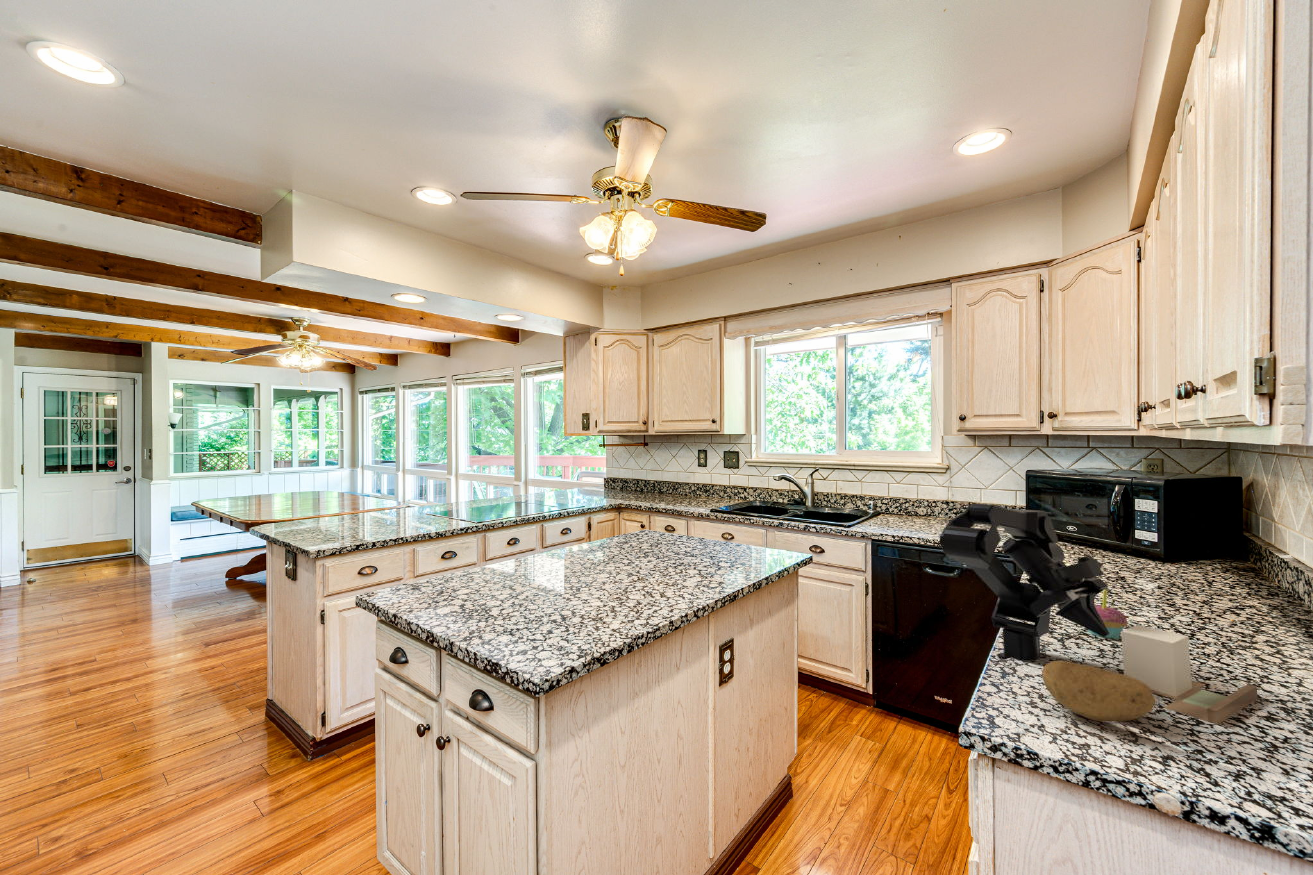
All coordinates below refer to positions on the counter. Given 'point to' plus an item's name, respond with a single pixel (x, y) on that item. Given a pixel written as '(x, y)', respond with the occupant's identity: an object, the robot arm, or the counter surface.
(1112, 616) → the cupcake
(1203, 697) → the lane board
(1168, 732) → the counter surface
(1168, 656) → the block
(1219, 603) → the counter surface
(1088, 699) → the potato
